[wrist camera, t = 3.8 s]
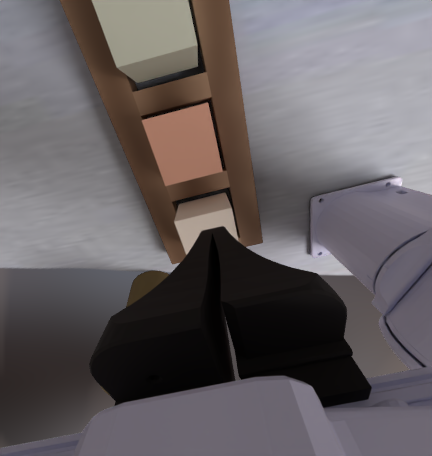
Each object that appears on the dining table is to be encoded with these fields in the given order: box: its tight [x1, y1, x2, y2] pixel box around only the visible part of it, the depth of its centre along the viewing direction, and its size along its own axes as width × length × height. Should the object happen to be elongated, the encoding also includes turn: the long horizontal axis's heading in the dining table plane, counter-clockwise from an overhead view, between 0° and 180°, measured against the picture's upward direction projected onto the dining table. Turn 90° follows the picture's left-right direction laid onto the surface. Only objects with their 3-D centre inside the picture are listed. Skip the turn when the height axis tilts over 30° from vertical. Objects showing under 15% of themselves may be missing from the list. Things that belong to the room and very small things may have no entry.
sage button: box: [92, 0, 198, 83], centre depth 11 cm, size 4×4×4 cm
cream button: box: [174, 193, 238, 255], centre depth 18 cm, size 4×4×4 cm
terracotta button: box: [142, 103, 223, 186], centre depth 15 cm, size 4×4×4 cm
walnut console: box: [60, 0, 263, 264], centre depth 17 cm, size 10×22×2 cm, turn 13°
